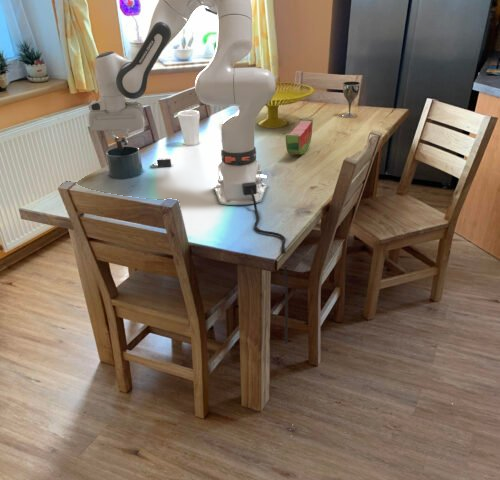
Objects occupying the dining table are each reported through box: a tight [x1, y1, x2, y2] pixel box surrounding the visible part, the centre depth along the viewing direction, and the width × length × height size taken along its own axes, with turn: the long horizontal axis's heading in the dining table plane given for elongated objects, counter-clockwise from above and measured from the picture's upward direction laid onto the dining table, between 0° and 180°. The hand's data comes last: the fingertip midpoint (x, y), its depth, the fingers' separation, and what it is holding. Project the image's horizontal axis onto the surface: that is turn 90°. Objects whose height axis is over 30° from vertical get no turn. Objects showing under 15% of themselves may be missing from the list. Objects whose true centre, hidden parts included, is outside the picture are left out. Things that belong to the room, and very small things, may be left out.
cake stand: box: [258, 81, 315, 129], centre depth 249 cm, size 40×40×15 cm
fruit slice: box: [285, 117, 314, 156], centre depth 214 cm, size 26×6×10 cm, turn 162°
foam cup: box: [177, 109, 201, 147], centre depth 228 cm, size 10×9×13 cm
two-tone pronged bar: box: [150, 157, 172, 169], centre depth 207 cm, size 8×3×3 cm, turn 91°
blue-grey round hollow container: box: [105, 145, 144, 180], centre depth 201 cm, size 13×13×8 cm
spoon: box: [115, 136, 128, 149], centre depth 196 cm, size 8×3×3 cm, turn 0°
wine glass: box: [341, 81, 361, 118], centre depth 256 cm, size 8×8×15 cm
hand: (120, 141), depth 196 cm, fingers closed on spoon, 2 cm apart
